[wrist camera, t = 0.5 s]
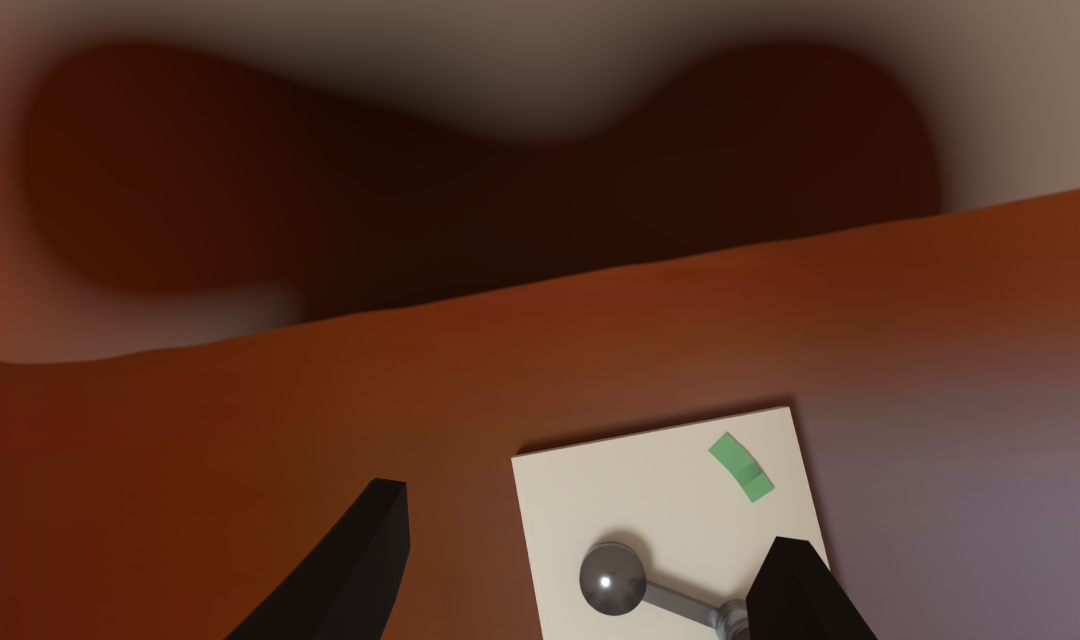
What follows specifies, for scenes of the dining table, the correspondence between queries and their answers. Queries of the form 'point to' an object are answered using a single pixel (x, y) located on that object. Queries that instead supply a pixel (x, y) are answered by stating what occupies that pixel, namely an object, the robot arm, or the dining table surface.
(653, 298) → the dining table surface
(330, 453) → the dining table surface
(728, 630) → the dark grey elongated piece
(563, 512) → the dial board
